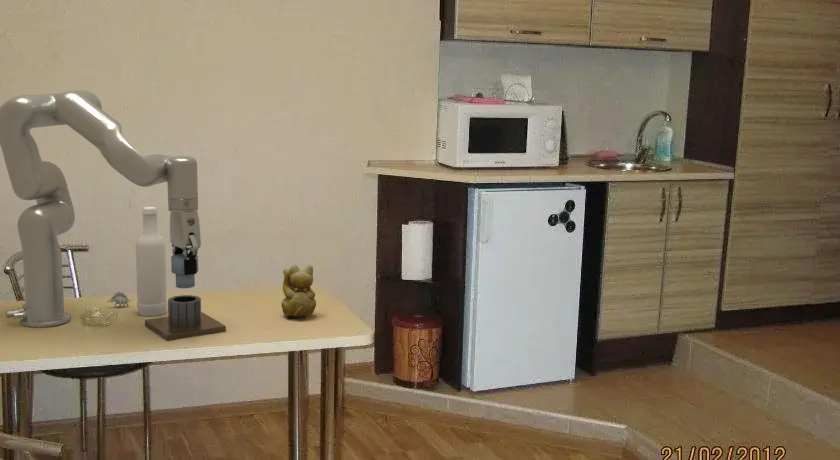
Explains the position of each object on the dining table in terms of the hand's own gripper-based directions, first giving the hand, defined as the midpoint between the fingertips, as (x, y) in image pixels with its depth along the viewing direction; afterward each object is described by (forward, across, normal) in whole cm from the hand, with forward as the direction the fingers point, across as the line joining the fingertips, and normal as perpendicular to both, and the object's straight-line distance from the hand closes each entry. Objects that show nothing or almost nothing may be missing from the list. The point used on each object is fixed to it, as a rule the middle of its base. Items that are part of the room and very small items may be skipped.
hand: (184, 271), depth 229 cm
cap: (+4, 0, 0) cm, 4 cm away
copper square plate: (+16, 0, 0) cm, 16 cm away
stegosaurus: (+16, +29, +8) cm, 34 cm away
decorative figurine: (+16, -6, -31) cm, 35 cm away
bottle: (+16, +19, +2) cm, 25 cm away
